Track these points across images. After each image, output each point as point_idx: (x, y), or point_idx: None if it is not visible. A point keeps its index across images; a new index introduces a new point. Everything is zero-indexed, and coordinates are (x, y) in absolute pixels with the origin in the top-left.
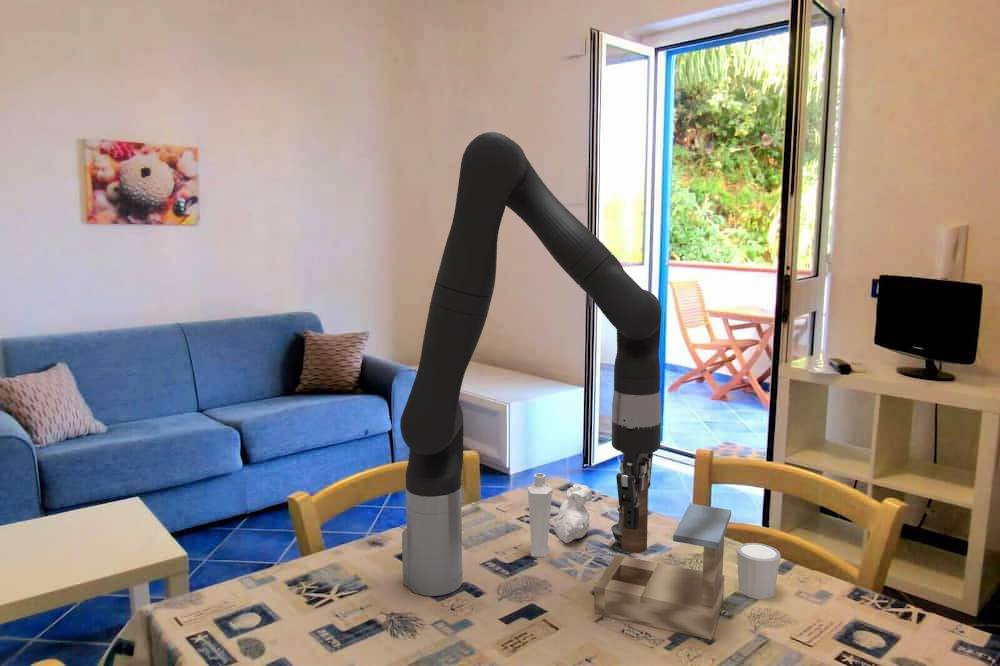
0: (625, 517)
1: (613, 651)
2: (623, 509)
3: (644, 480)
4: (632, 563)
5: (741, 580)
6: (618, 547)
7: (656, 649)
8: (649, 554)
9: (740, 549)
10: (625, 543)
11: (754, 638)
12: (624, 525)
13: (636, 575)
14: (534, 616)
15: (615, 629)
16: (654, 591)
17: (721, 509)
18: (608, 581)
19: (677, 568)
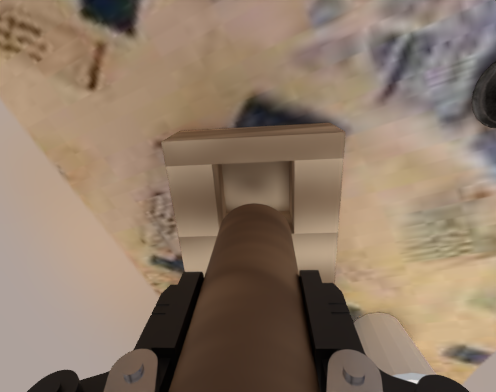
0: (152, 315)
1: (97, 198)
2: (204, 304)
3: None
4: (312, 184)
5: (365, 334)
6: (494, 77)
7: (141, 248)
8: (477, 154)
9: (404, 379)
10: (218, 233)
11: None
12: (183, 276)
13: (292, 191)
14: (98, 18)
15: (154, 182)
16: (210, 253)
17: None
18: (199, 163)
19: (326, 269)
